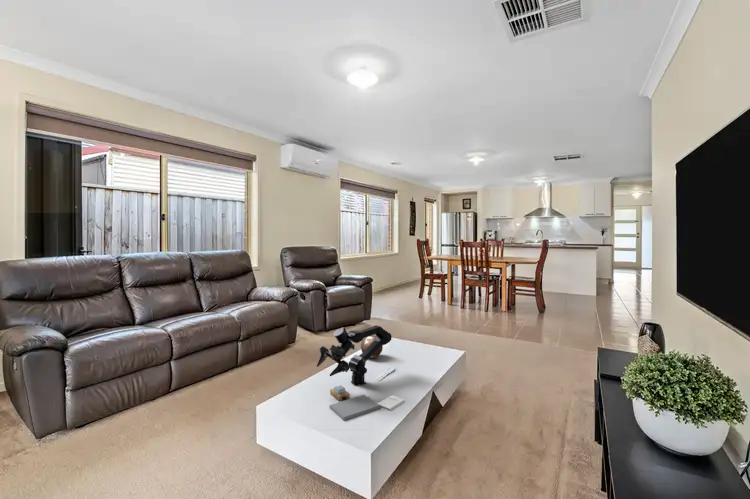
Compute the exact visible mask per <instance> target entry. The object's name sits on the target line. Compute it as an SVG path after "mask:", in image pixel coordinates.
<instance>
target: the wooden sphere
mask: <svg viewBox="0 0 750 499" xmlns="http://www.w3.org/2000/svg"><path fill="white" fill-rule="evenodd" d="M375 340H376V336H375V335H371V336H368V337H365V338H363V340H362V341H361V344H360V350H361V354H362V353H363V352H364V351H365V350H366V349H367V348H368V347H369V346H370V345H371V344H372V343H373V342H374V341H375ZM383 346H384V345H382V346H381V347H380V348H379V349H378V350H377V351H376V352H375V353H374V354H373V355H372V356H371V357H370V358H369V359H375V358H377V357H379V356H380V355H381V354H382V352H383Z"/></svg>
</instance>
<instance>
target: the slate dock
mask: <svg viewBox="0 0 750 499" xmlns="http://www.w3.org/2000/svg"><path fill="white" fill-rule="evenodd" d="M377 403H378V402H376V401H374V400H373V399H371V398H370V397H369V396H367V395H366V394H362V395H361V394H360V395H358V396H355V397H351V398H350V399H346V400H342V401H341V402H339V401H338V402H335V403H332V404H329V409H330V410H331V411H332V412H334V413H335V414H336V415H337V416H338V417H339V418H340V419H341V420H342V421H347V420H349V419H352V418H355V417H358V416H362V415H364V414H367V413H370V412H373V411H377V410H379V409H380V408H381V407H380V405H379V404H377Z"/></svg>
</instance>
